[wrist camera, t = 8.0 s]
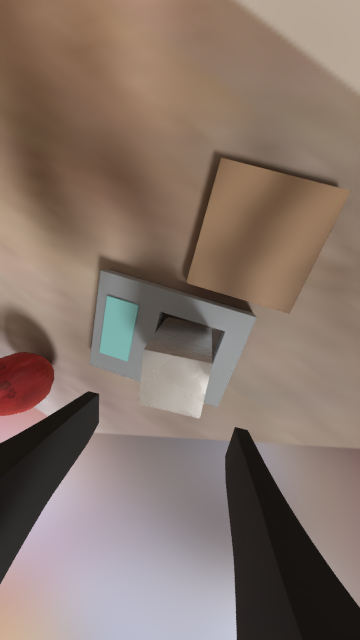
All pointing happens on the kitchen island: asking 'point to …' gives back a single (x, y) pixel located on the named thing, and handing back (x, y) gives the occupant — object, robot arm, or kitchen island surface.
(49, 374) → the onion
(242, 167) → the brown square plate
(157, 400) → the steel peg
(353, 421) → the kitchen island surface
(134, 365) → the hole plate
